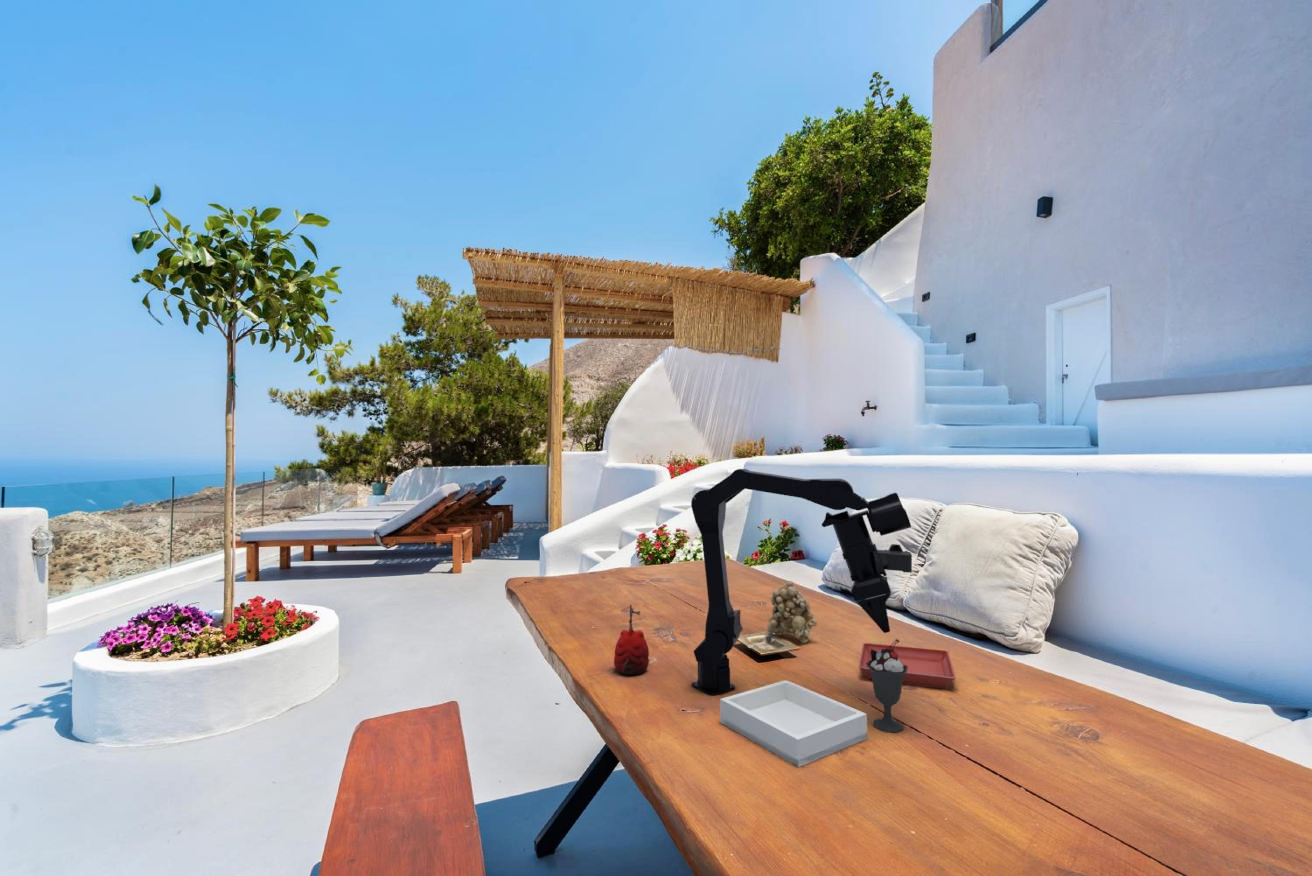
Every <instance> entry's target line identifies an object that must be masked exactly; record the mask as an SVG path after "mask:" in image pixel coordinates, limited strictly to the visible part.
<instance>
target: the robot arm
mask: <svg viewBox="0 0 1312 876" xmlns="http://www.w3.org/2000/svg"><path fill="white" fill-rule="evenodd" d="M744 490H751V491H755V492H756V491H757V492H762V493H763V492H764V493H768V494H773V495H774V494H775V495H776V494H777V495H781V496H786V497H793V498H798V499H799V498H800V499H803V500H806V501H809V502H811V503H814V504H817V505H818V506H822V507H824V508H825V507H826V508H828V509H831V510H834V511H841V512H838V513H834V514H832V513H830V512H828V511H827V512H826V513H825V517H824V520H823V522H822V523H821V527H822V528H825V527H829V526H832V527H833V529H834V532H835V535H836V539H837V540H838V541H837V542H838V543H839V547H840V549H841V552H842V558H843V561H844V560H845V563H846V565H847V566H846V567H847V568H848V571H849V573H850V575H849V577H850V579H851V582H853V583H852V585H851V587H850V589H851V590H850V591H851V593H852V597H853V600H854V601H855V602H856V604H857V605H858V606H860V608H862V610H863V611H864V612H865V613H866V614H867V616H868V617H869V618H870V619H871V620H872V621H873V623H874V624H875V625H876V626H877V627H878V628H879V629H880V631H882V632H883V634H886V633H890V632H891V629H890V623H889V617H888V616H889V615H888V611H887V605H886V604H887V601H888V599H889V597H891V595H892V590H891V588H890V587H891V586H890V585H889V582H888V576H887V575H888V574H887V571H896V572H897V571H898V572H899V571H900V572H902V573H908V574H909V573H912V571H913V570H912V569H913V565H912V564H913V558H912V557H913V555H912V552H910V551H908V550H905V551H904V550H903V548H902V547H901V545H900V544H895V543H892V544H891V545H890V547H889V548H888V549H878V548H877V546H876V543H874V542H873V540H872V538H871V535H870V532H869V530H868V529H869V528H868V527H867V524H866V522H865V519H864V516H866V519H867V521H868V523H869V525H870V528H871V532H872V533H875V532H876V533H879V534H880V536H885V535H890V534H892V533H897V532H900V531H904V530H907V529H910V528H912V525H911V522H910V519H909V516H908V513H907V511H906V509H905V508H904V506H903V504H902V502H901V498H900V497H899V494H898V493H897V492H892V493H889V494H887V495H885V496H883V497H880V498H876V499H872V500H870V501H868V500H866V499H865V497H862V496H860V495H859V494H857V493H855V492H854V489H853V486H852V485H851V484H850V482H849V481H848V480H845V479H843V478H811V479H810V478H799V477H793V476H785V475H779V474H772V473H768V472H767V473H766V472H761V471H754V470H753V471H752V470H749V469H747V468H738V469H735V470H734V471H732V472H731V474H730V475H728V476H727V477H726V478H724V479H723V480H722V479H721V481H719V482H718V483H716V484H715V485H714V486H712V487H711V488H709V489H703V490H699V491H698V492H696V493H695V494H694V496H693V497H692V499H691V504H690V505H691V506H690V507H691V511H692V514H693V518H694V521H695V524H696V526H697V528H698V530H699V533H700V536H701V542H702V543H701V544H702V551H703V560H704V570H705V571H704V572H705V579H706V582H705V583H706V591H707V599H708V600H707V601H708V607H707V608H708V610H707V614H706V620H705V631H704V633H705V634H704V639H702V641H701V642H700V643H699V645H698V646H697V647H695V649H694V650H693V654H694V657H695V660H696V662H697V681H694V682H691V687H693V688H695V689H697V690H700V691H701V692H702V693H705V694H707V695H709V696H713V695H717V694H721V693H725V692H728V691H732V690H735V689H736V685H734V684H733V683H731V667H730V658H728V655H727V653H730V651H731V650H732V649H733V647H734V646H735V645H736V644H737V641H738V640H739V638H740V634H741V632H742V631H743V630H744V628H743V626H742V624H741V610H740V609H738V610H737V609H736V610H734V608H733V606H732V604H731V600H730V591H729V583H728V582H729V581H728V573H727V562H726V553H725V543H724V536H723V535H724V534H723V533H724V528H725V527H724V526H725V521H726V511H727V503H729V502H731V500H733V499H734V498H735V497H737V496H738V495H739V494H740V493H742V492H743V491H744ZM845 509H851V510H854V511H860V512H857V513H853V514H850V513H849V512H848V510H845ZM866 509H867V510H866ZM843 510H845V511H843ZM861 510H862V511H861ZM863 510H864V511H863Z"/></svg>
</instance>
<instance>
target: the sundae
mask: <svg viewBox="0 0 1312 876" xmlns="http://www.w3.org/2000/svg"><path fill="white" fill-rule="evenodd" d="M900 642H901V641H900V640H899V639H897V638H896V639H895V640H894V641H893V642H892V643H891V646H892V645H893V647H891V646H888V647H887V648H886V649H882V650H880V651H878V652H877V651H875V650H872V649H871V650H870V651H871V660H870V661H869V662H868V663H866V664H867V666H868V667H869V668H870V669H871V675H872V679H871V680H872V688H873V692H874V695H875V698H876V699H877V701H878V702H879V703H880V704H881V705H883V716H882V718H877V719H874V720H873V721H872V725H873V727H874V728H876V729H877V730H880V731H882V732H885V733H899V732H902V731H903V730H904V729H905V728H904V726H903V724H902V723H901V722H899V721H897V720H894V719H893V716H892V707H893V706H895V705H896V704H897V703H898V702H899V701H900V699H901V695H902V694H901V693H902V687H903V686H902V685H903V683H902V680H903V674H905V673H906V672H907V670H908V667H907V666H906V665H902V662H901V661H900V660H899V659H898V654H897V653H896V652H894V646H896V645H897V644H898V643H900Z"/></svg>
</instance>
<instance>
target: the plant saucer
mask: <svg viewBox="0 0 1312 876" xmlns="http://www.w3.org/2000/svg"><path fill="white" fill-rule="evenodd" d="M891 645H892V644H891ZM891 645H890V644H881V643H880V644H879V643H870V642H864V643H862V648H861V652H860V658H859V663H858V668H859V670H860V671H861V672H862V674H863V675H864V676H865V677H866V678H867V679H869V680H872V675H871V669H870V668H869V667H868V666H867V664H866V663H868V662H869V661H870V660H871V651H870V650H871V649H872V650H875V651H877V652H878V651H880V650H882V649H886V648H887V647H888V646H891ZM893 646H894V644H893V645H892V646H891V647H893ZM894 652H896V653H897V654H898V659H899V660H900V661H901V662H902V665H906V666H907V667H908V670H907V672H906V673H905V674H903V680H902V684H907V685H913V686H923V687H931V688H939V689H945V688H947V687H948V686H949V685H950V684H951V683H953V681H954V680H955V679H956V674H955V670H954V667H953V664H952V660H951V656H950V654H949V651H948V650H945V649H935V648H933V649H932V648H923V647H912V646H902V645H895V646H894Z"/></svg>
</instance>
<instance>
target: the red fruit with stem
mask: <svg viewBox="0 0 1312 876" xmlns="http://www.w3.org/2000/svg"><path fill="white" fill-rule="evenodd" d="M628 608H629V618H630V619H629V620H628V624H629V629H628V630H627V629H622V630H621V631H620V636H619V638H618V639H617V641H616V643H615V648H614V658H613V665H614V667H615V669H616V671H617V672H619V673H620V674H621V675H625V676H626V675H627V676H637V675H641V674H642V673H645V672H646V670H647V669H648V666H649V664H650V659H649V656H650V652H649V646H648V644H647V641H646V639H645V636H644V632H643V631H642V630H634V629H633V624H632V623H633V619H632V618H633V614H636V615H638V616H641V611H640V610H638V611H635V610H634V609H633V607H632V604H629V606H628Z"/></svg>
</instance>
